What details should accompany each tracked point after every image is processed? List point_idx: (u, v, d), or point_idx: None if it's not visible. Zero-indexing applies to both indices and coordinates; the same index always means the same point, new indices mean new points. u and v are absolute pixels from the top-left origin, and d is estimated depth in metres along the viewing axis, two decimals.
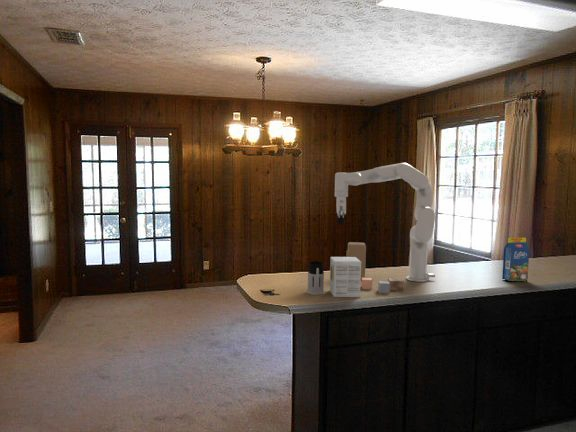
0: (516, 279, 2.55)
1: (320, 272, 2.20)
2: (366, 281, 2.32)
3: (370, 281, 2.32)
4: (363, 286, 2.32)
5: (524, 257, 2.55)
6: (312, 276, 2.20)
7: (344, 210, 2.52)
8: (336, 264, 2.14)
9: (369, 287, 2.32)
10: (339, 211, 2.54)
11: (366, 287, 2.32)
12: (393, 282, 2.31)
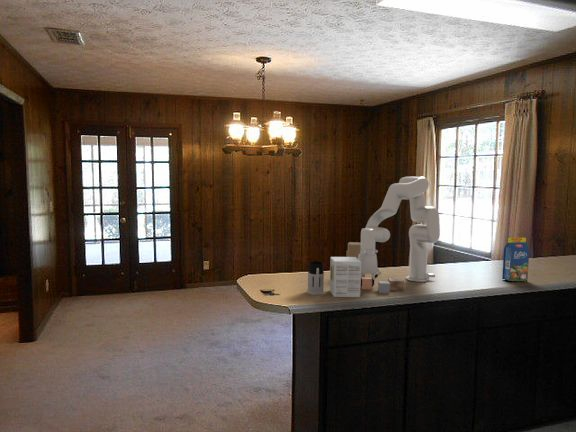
0: (516, 279, 2.55)
1: (320, 272, 2.20)
2: (366, 281, 2.32)
3: (370, 281, 2.32)
4: (363, 286, 2.32)
5: (524, 257, 2.55)
6: (312, 276, 2.20)
7: None
8: (336, 264, 2.14)
9: (369, 287, 2.32)
10: None
11: (366, 287, 2.32)
12: (393, 282, 2.31)
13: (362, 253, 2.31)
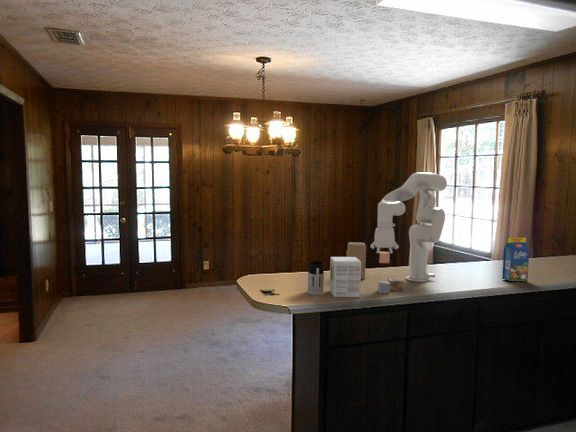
0: (516, 279, 2.55)
1: (320, 272, 2.20)
2: (383, 255, 2.31)
3: (387, 255, 2.31)
4: (380, 260, 2.31)
5: (524, 257, 2.55)
6: (312, 276, 2.20)
7: None
8: (336, 264, 2.14)
9: (387, 261, 2.31)
10: None
11: (384, 261, 2.31)
12: (393, 282, 2.31)
13: (379, 227, 2.30)
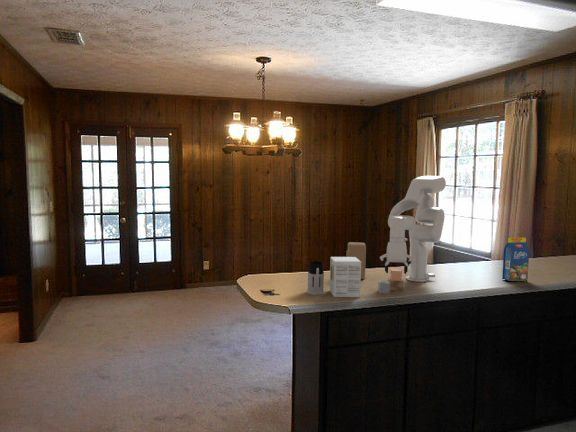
0: (516, 279, 2.55)
1: (320, 272, 2.20)
2: (396, 272, 2.31)
3: (400, 272, 2.31)
4: (393, 277, 2.32)
5: (524, 257, 2.55)
6: (312, 276, 2.20)
7: None
8: (336, 264, 2.14)
9: (399, 278, 2.31)
10: None
11: (396, 278, 2.31)
12: (393, 282, 2.31)
13: (392, 241, 2.30)
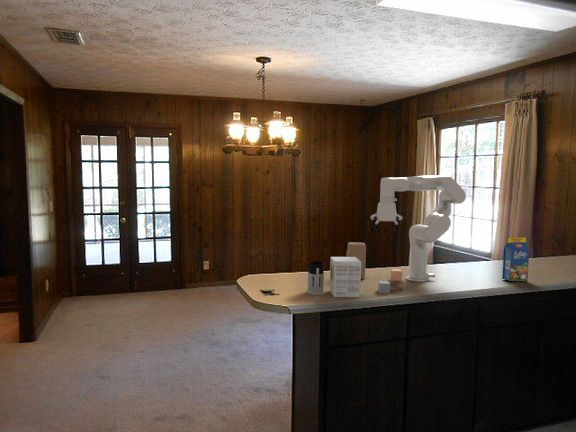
0: (516, 279, 2.55)
1: (320, 272, 2.20)
2: (396, 272, 2.31)
3: (400, 272, 2.31)
4: (393, 277, 2.32)
5: (524, 257, 2.55)
6: (312, 276, 2.20)
7: None
8: (336, 264, 2.14)
9: (399, 278, 2.31)
10: None
11: (396, 278, 2.31)
12: (393, 282, 2.31)
13: (382, 201, 2.43)
